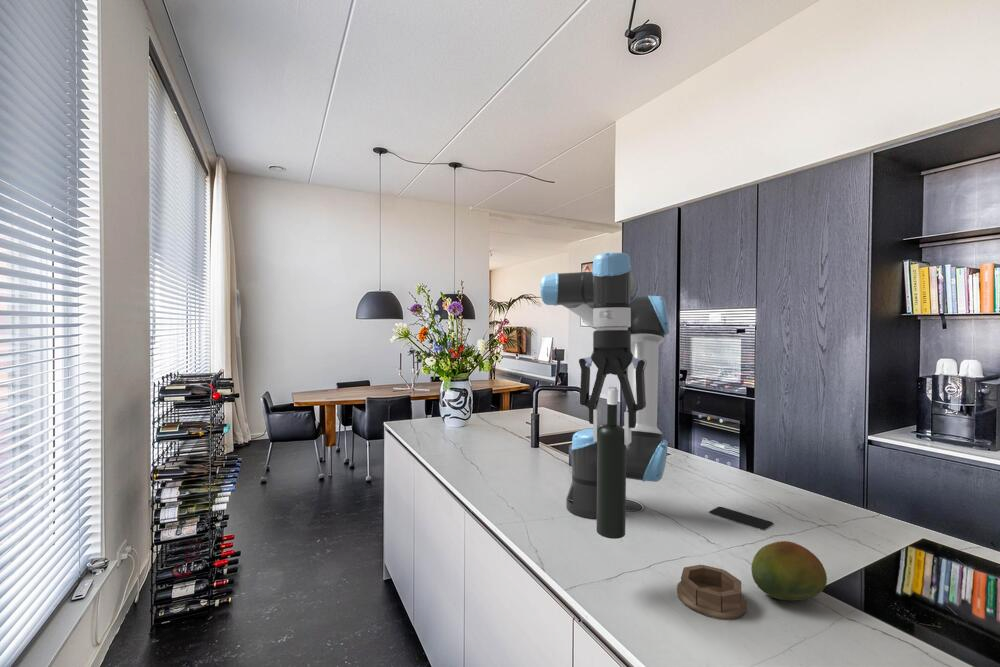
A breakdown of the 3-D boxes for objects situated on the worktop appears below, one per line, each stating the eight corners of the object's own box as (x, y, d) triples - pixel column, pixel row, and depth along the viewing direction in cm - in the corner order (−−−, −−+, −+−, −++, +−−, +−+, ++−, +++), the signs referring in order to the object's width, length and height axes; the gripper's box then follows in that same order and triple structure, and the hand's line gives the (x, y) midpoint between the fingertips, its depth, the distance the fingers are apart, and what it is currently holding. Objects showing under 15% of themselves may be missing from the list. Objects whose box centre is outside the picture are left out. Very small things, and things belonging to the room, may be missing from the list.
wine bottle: (608, 541, 87) (609, 390, 87) (590, 528, 92) (592, 386, 92) (631, 535, 90) (633, 388, 89) (613, 524, 95) (614, 385, 94)
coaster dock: (672, 606, 84) (672, 586, 84) (681, 575, 95) (681, 557, 95) (747, 627, 78) (747, 606, 78) (747, 591, 89) (747, 572, 89)
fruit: (834, 600, 86) (834, 549, 86) (806, 625, 79) (806, 569, 78) (770, 573, 95) (770, 527, 95) (740, 593, 88) (740, 543, 88)
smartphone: (719, 505, 132) (775, 522, 120) (719, 508, 132) (775, 525, 120) (707, 512, 127) (763, 530, 115) (707, 514, 127) (763, 532, 115)
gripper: (562, 329, 92) (563, 440, 92) (655, 328, 83) (656, 451, 83) (574, 329, 98) (575, 432, 99) (662, 328, 89) (662, 442, 90)
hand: (612, 441), depth 91 cm, fingers closed on wine bottle, 6 cm apart
